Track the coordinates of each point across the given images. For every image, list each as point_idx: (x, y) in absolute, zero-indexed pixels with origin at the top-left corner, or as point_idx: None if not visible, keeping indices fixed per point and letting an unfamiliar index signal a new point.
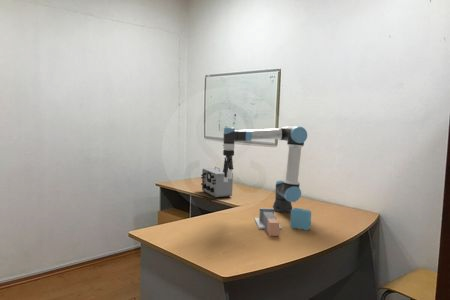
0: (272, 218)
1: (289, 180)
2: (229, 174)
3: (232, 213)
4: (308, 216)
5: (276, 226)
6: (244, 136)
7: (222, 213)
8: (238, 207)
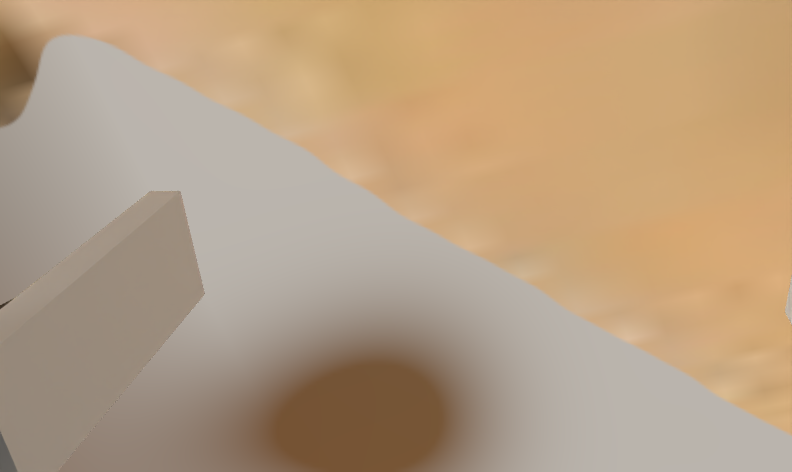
0: None
1: None
2: (130, 334)
3: (328, 3)
4: None
5: None
6: None
7: (380, 122)
8: (40, 5)
